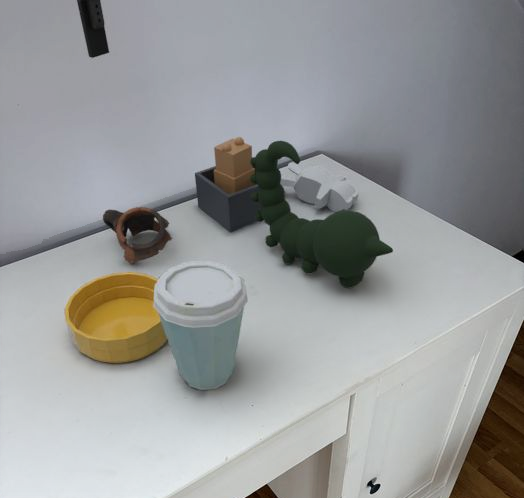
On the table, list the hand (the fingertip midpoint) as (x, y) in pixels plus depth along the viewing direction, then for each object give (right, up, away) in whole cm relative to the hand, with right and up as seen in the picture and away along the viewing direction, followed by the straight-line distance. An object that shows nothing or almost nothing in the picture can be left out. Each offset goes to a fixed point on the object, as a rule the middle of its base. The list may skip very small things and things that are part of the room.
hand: (69, 44), depth 78 cm
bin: (+22, -17, +23) cm, 36 cm away
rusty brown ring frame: (+6, -25, +15) cm, 30 cm away
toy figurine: (+35, -29, +11) cm, 47 cm away
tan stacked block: (+22, -16, +23) cm, 36 cm away
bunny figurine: (+36, -15, +25) cm, 47 cm away
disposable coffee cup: (+20, -45, -5) cm, 49 cm away
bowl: (+7, -39, +1) cm, 40 cm away
